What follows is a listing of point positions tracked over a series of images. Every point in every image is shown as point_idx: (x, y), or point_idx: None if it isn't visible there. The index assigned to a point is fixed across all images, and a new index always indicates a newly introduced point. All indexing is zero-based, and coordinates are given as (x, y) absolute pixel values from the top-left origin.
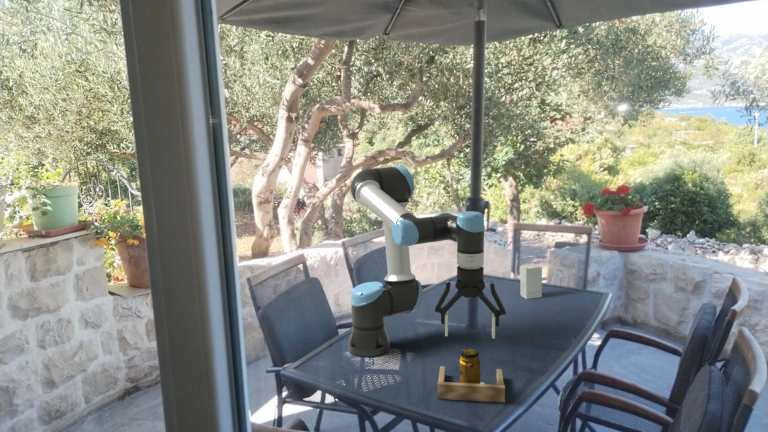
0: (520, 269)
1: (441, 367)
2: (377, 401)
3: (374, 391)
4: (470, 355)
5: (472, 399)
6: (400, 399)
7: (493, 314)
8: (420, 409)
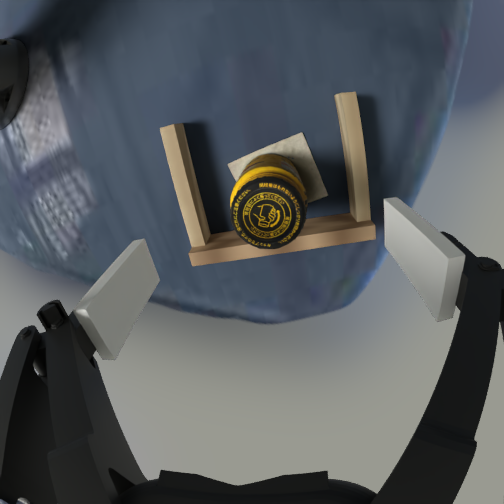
0: None
1: (166, 135)
2: None
3: (77, 254)
4: (276, 247)
5: None
6: None
7: (454, 272)
8: (183, 295)
